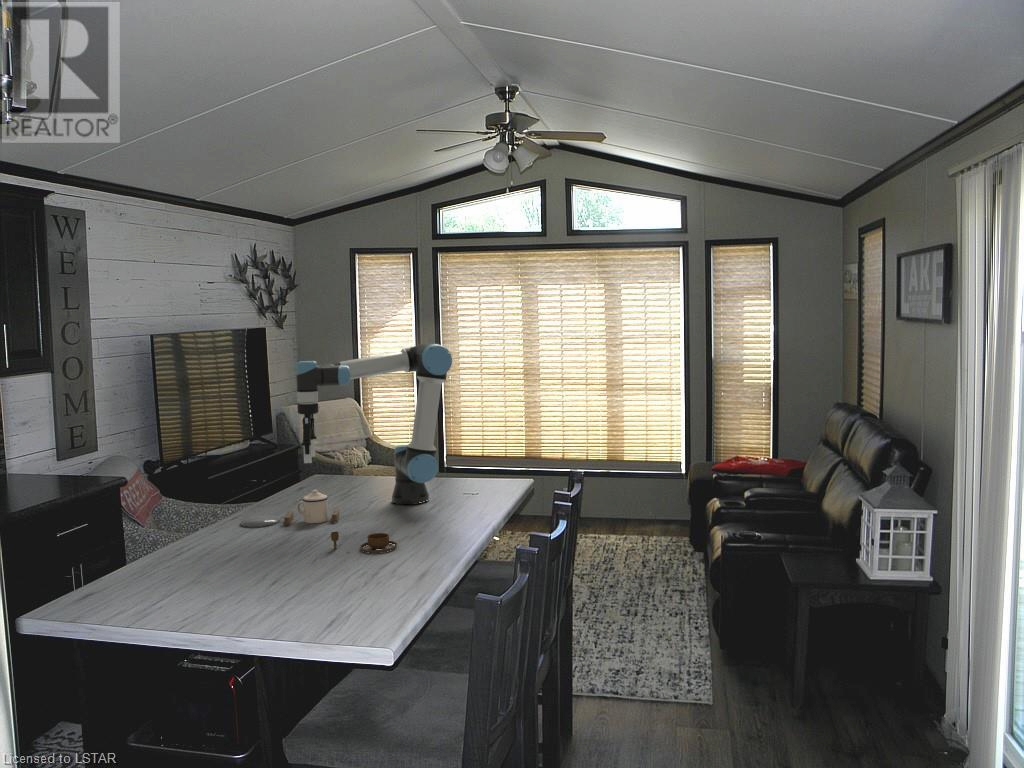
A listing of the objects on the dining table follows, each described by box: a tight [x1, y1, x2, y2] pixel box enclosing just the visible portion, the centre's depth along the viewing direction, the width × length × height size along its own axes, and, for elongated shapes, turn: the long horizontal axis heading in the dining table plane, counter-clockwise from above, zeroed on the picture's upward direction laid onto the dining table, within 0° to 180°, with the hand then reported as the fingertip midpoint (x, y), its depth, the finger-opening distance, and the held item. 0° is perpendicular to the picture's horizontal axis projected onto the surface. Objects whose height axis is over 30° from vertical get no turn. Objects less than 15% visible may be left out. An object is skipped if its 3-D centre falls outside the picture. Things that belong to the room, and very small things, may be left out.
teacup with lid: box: [296, 489, 329, 524], centre depth 311 cm, size 12×9×12 cm
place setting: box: [330, 531, 398, 554], centre depth 274 cm, size 18×20×6 cm
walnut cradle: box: [284, 507, 340, 526], centre depth 311 cm, size 19×10×3 cm, turn 98°
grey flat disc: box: [240, 514, 281, 528], centre depth 310 cm, size 14×14×1 cm
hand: (309, 459), depth 309 cm, fingers open, 13 cm apart
